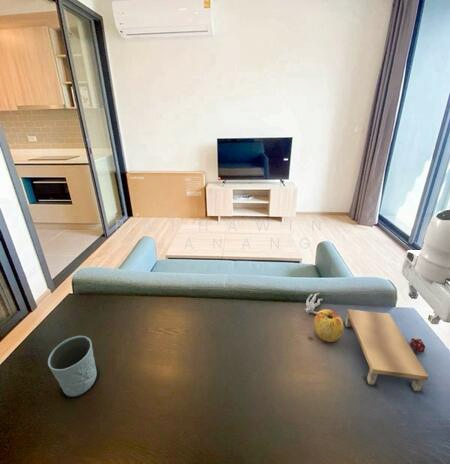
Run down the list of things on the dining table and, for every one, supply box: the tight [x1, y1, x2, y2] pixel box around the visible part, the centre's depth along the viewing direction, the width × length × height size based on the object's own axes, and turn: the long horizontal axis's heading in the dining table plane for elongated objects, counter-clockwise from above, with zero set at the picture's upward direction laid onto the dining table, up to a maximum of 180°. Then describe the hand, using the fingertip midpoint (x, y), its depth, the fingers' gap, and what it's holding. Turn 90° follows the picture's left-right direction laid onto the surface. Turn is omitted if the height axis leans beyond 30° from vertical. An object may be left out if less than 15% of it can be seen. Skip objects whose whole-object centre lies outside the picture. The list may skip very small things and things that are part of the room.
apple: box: [313, 308, 344, 343], centre depth 83 cm, size 9×9×10 cm
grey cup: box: [47, 335, 98, 397], centre depth 68 cm, size 10×10×12 cm
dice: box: [409, 338, 426, 353], centre depth 79 cm, size 4×4×4 cm
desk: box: [344, 308, 429, 392], centre depth 78 cm, size 14×22×6 cm, turn 172°
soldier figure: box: [303, 292, 324, 315], centre depth 96 cm, size 8×5×12 cm
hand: (421, 308), depth 70 cm, fingers open, 8 cm apart
